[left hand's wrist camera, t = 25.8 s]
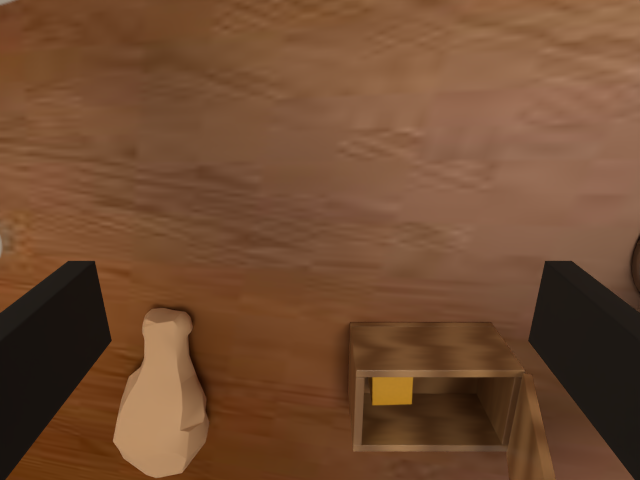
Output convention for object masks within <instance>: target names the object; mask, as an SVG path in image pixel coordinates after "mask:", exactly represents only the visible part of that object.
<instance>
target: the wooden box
mask: <svg viewBox="0 0 640 480" xmlns="http://www.w3.org/2000/svg"><path fill="white" fill-rule="evenodd" d="M523 373H525V370H524V368H523V367H522V366H521V364H520V363H519V361H518V360H517V358H516V357H515V356H514V354H513V353H512V351H511V350H510V348H509V347H508V346H507V344H506V343H505V341H504V340H503V338H502V337H501V336H500V334H499V333H498V331H497V330H496V329H495V327H494V326H493V324H492V323H474V322H350V343H349V376H348V401H349V412H350V423H351V434H352V445H353V451H507V449H508V444H509V439H510V434H511V429H512V425H513V420H514V415H515V410H516V405H517V400H518V395H519V390H520V385H521V380H522V376H523ZM368 377H413V390H412V404H401V405H372V401H371V394H370V388H369V382H368Z"/></svg>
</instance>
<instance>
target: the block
mask: <svg viewBox="0 0 640 480" xmlns="http://www.w3.org/2000/svg"><path fill="white" fill-rule="evenodd" d="M368 382H369V388H370V394H371V401H372V405H401V404H412V390H413V377H368Z"/></svg>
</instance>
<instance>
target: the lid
mask: <svg viewBox="0 0 640 480" xmlns="http://www.w3.org/2000/svg"><path fill="white" fill-rule="evenodd" d="M506 455H507V464H508V473H509V480H556V478H555V474H554V469H553V465H552V461H551V456H550V452H549V447H548V443H547V439H546V434H545V430H544V425H543V421H542V416H541V412H540V408H539V403H538V399H537V394H536V390H535V385H534V381H533V377H532V375H531V374H525V373H523V376H522V380H521V385H520V390H519V395H518V400H517V405H516V410H515V415H514V420H513V425H512V429H511V434H510V439H509V444H508V449H507V454H506Z"/></svg>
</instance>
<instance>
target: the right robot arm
mask: <svg viewBox="0 0 640 480" xmlns="http://www.w3.org/2000/svg"><path fill="white" fill-rule="evenodd" d="M632 274H633V279H634V283H635V285H636V287H637V289H638V291H639V292H640V239H639V241H638V243H637V246H636V248H635V251H634V255H633V261H632Z"/></svg>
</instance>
